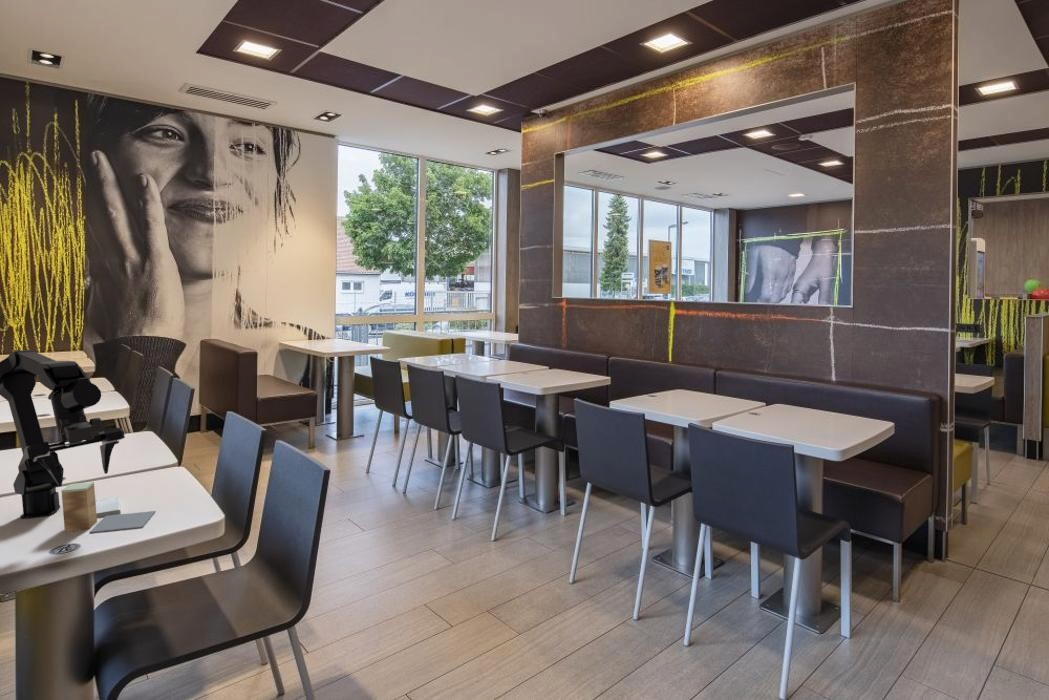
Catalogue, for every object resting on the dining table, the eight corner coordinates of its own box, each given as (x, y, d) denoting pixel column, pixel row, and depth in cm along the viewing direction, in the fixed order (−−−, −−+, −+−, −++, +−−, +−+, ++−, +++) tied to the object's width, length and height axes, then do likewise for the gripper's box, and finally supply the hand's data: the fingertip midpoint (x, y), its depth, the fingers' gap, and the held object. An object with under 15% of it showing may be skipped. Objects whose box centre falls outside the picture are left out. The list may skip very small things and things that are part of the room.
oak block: (64, 531, 146) (61, 490, 145) (73, 524, 151) (69, 484, 150) (89, 529, 148) (86, 488, 147) (97, 521, 153) (93, 482, 152)
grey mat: (89, 533, 145) (89, 531, 145) (105, 516, 156) (105, 515, 156) (143, 527, 148) (143, 526, 148) (155, 511, 159) (155, 510, 159)
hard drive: (120, 509, 158) (119, 496, 168) (80, 516, 154) (82, 502, 164) (120, 515, 158) (119, 502, 169) (81, 522, 154) (82, 508, 164)
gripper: (25, 418, 134) (40, 489, 134) (123, 401, 148) (137, 465, 147) (17, 424, 142) (31, 491, 141) (111, 408, 156) (125, 469, 155)
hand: (83, 479), depth 146 cm, fingers open, 9 cm apart
